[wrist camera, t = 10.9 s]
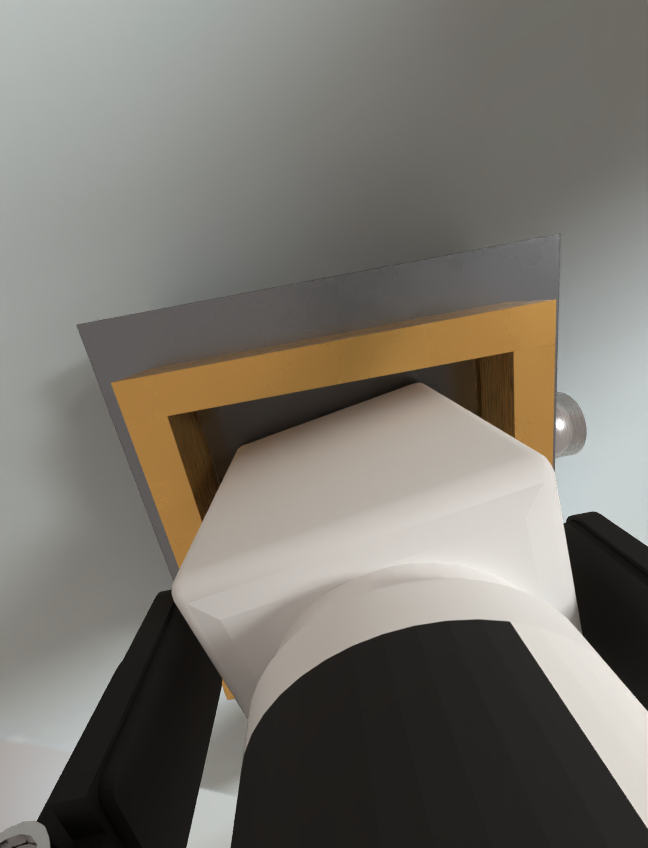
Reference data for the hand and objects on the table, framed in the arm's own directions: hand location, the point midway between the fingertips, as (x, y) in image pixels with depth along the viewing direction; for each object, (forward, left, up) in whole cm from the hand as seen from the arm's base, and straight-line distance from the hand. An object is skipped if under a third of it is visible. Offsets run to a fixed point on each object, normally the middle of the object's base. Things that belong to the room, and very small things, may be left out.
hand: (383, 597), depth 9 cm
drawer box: (0, +1, -11) cm, 11 cm away
